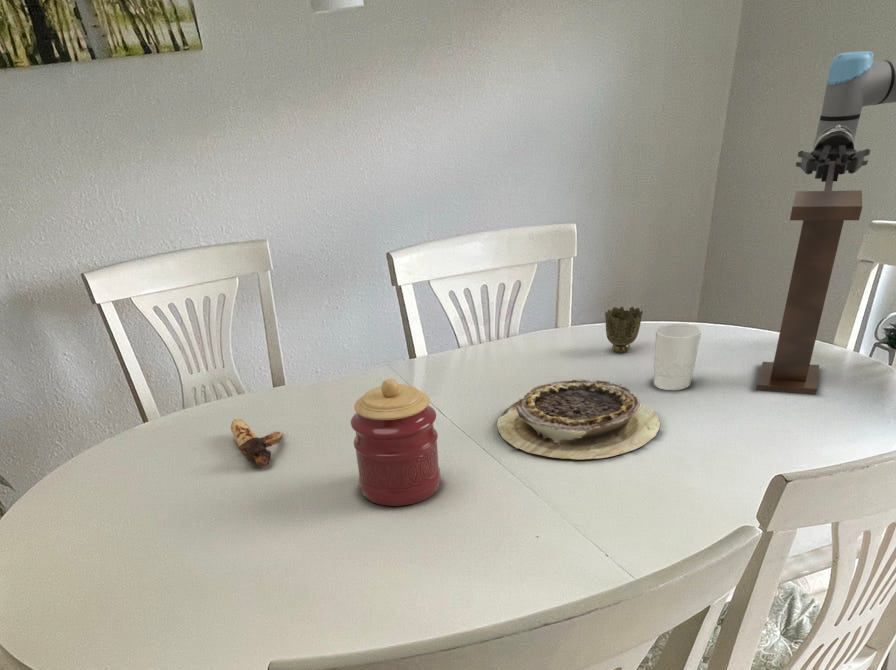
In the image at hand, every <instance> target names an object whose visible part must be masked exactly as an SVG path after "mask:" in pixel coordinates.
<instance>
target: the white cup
mask: <svg viewBox="0 0 896 670" xmlns="http://www.w3.org/2000/svg"><path fill="white" fill-rule="evenodd" d="M701 335H702V328H700V327H699V326H697V325H694V324H690V323H668V324H663V325H661V326H658V327H657V328H656V330H655V340H654V341H655V342H654V358H653V381H652V382H653V385H654V387H655V388H658V389H660V390H665V391H680V390H684V389H687V388H689V387H690V385H691V384H692V379H693V372H694V369H695V365H696V361H697V356H698V352H699V351H698V350H699V345H700V339H701Z"/></svg>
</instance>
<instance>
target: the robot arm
mask: <svg viewBox="0 0 896 670" xmlns="http://www.w3.org/2000/svg"><path fill="white" fill-rule="evenodd" d="M824 90H825V92H824V95H823V96H824V97H823V102H822V103H823V104H822V108H821V114H820V116H819V121H818V125H817V130H816V135H815V138H814V143H813V150H811V151H804V150H800V151H798V152H797V157H796V162H795V167H797V168H800V169H801V170H802V171H803V172H804V173H805V174H806V175H812V174H813V172H815V175H814V180H815V179H816V180H818V179H819V180H821V181H820V182H821V183H823V182H824V183H825V182H826V177H827V173H828V169H829V163H830V161H836V164H835V171H834V179H833V182H838V179H839V175H844V174H846V172H847V173H848V174H850V175H853V174H855V173H856V172H857V171H858V170H859V169H861V167H864V166H867V165H868V163H869V158H870V154H871V149H868V148H866V149H863V150H858V151H857V150H856V149H855V139H856V134H857V131H858V125H859V120H860V117H861V113H862V111H863V107H869V106H877V105H883V104H884V105H885V104H892V103H896V58H893V59H887V60H886V59H885V60H883V59H882V60H874V52H873V51H870V50H869V51H867V50H864V51H863V50H862V51H850V52H849V51H848V52H842V53H838V54H837V55H835V56H834V57H833V59H832V61H831V64H830V68H829V70H828V74H827V78H826V85H825V89H824Z"/></svg>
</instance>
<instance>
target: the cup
mask: <svg viewBox="0 0 896 670" xmlns="http://www.w3.org/2000/svg"><path fill="white" fill-rule="evenodd" d="M643 314H644V312H643V310H641V308H640V307H636V308H635V307H634V306H631V307H629V309H625V307H623V306H620V307H616V306H614V307H613V308H612V309H609V308H608V310H606V311H605V312H604V317H605V335H606V339H607V340H608V342H609V343H610V344H611V345H612V346H611V349H612V351H613V352H614V353H617V354H618V353H619V354H623V353H627V352H628V351H630V348H631V344H632V343H634V342H635V340H636V339H637V337H638V335H639V333H640V332H639V331H640V327H641V324H642V319H643V318H642V317H643Z"/></svg>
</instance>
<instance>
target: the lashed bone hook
mask: <svg viewBox="0 0 896 670" xmlns="http://www.w3.org/2000/svg"><path fill="white" fill-rule="evenodd" d="M230 431H231V433H232V435H233V438H234V440H235V442H236V444H237V445H238V449H239V451H241V452H242V453H243V454H244V455H245V456H246V457H247V459H248V460H250V461H251V462H253V463H254V464H255V465H256V466H258V467H261V468H263V467H267V466H268V465H270V461H271V456H272V451H271V450H268V449H267V448H268V447H269V448H270V447H272V446H273V445H276V444H278V443H279V442H280V441H281V440H282V439H283V433H282V432H280V431H274V432H273V433H272V434H268V435H265V436H262V437H257V435H256V434H255V433H254V431H253V430H252V429H251V428H250V426H249V424H247V423H246V422H245V421H244V420H243V419H241V418H236V419H233V420H232V421H231V424H230Z"/></svg>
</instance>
